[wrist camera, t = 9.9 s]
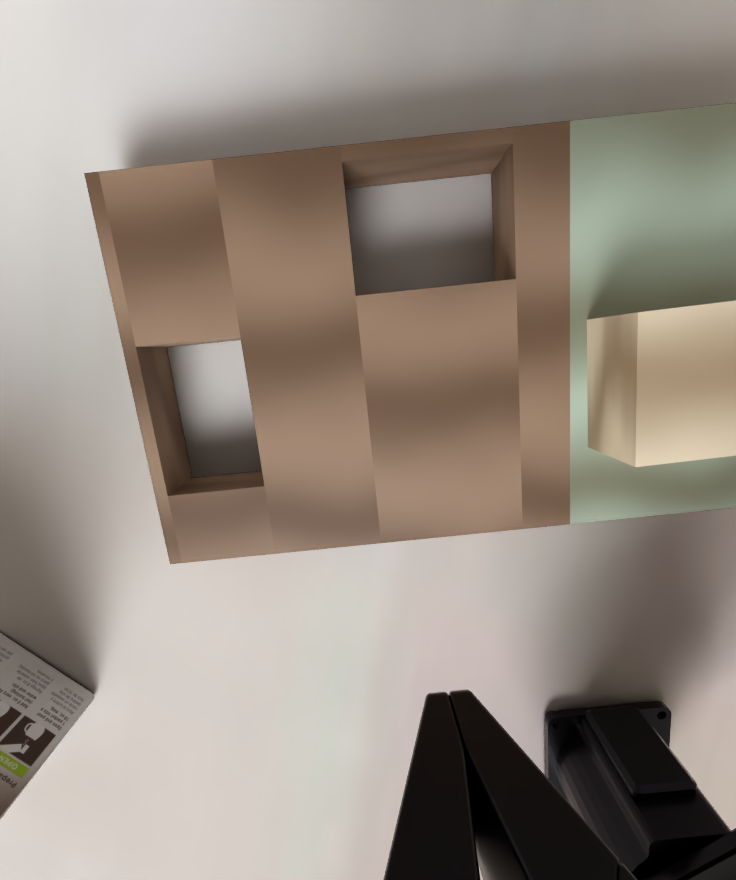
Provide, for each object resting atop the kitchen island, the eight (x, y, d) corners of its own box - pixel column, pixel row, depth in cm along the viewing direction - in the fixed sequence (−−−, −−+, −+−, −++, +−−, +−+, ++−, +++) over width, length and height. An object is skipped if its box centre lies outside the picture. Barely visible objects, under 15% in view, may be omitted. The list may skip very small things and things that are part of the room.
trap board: (711, 486, 20) (760, 505, 17) (193, 538, 20) (170, 564, 18) (738, 132, 17) (801, 95, 14) (124, 198, 17) (84, 173, 15)
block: (711, 432, 17) (785, 449, 14) (587, 447, 17) (635, 467, 14) (718, 303, 16) (800, 292, 13) (586, 319, 16) (638, 312, 13)
